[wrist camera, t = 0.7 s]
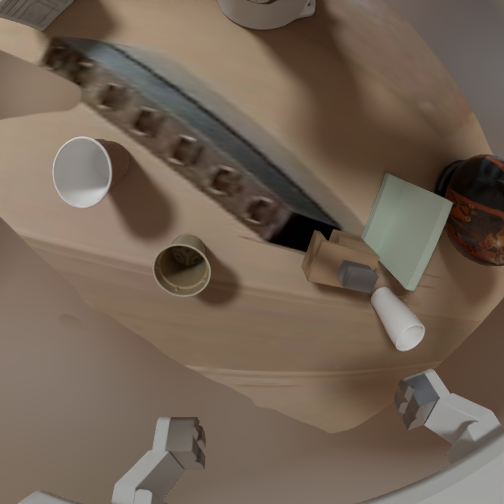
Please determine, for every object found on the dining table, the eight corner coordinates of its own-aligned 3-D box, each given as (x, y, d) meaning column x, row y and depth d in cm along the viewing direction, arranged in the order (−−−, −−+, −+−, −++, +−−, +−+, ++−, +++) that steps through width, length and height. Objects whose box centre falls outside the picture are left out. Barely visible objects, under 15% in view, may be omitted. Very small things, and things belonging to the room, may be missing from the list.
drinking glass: (383, 277, 58) (417, 318, 44) (397, 293, 60) (430, 333, 46) (361, 298, 60) (389, 343, 46) (376, 313, 62) (404, 356, 48)
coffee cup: (116, 120, 42) (83, 121, 31) (150, 164, 46) (125, 176, 35) (78, 159, 44) (41, 171, 33) (109, 201, 48) (79, 222, 37)
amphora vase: (494, 198, 51) (576, 242, 26) (445, 257, 57) (522, 325, 32) (462, 127, 44) (566, 151, 19) (405, 192, 50) (508, 251, 25)
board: (385, 172, 48) (428, 189, 36) (408, 182, 49) (453, 202, 37) (356, 248, 54) (388, 285, 42) (380, 255, 55) (413, 290, 43)
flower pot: (174, 216, 50) (164, 233, 42) (222, 238, 52) (220, 259, 44) (156, 259, 53) (144, 282, 45) (201, 279, 55) (196, 305, 47)
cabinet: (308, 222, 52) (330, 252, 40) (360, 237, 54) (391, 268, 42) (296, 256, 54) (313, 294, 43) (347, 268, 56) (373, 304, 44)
